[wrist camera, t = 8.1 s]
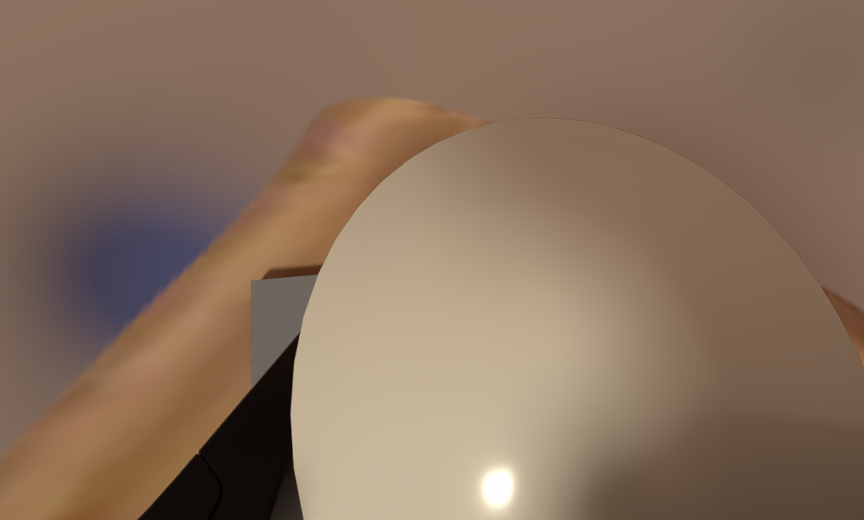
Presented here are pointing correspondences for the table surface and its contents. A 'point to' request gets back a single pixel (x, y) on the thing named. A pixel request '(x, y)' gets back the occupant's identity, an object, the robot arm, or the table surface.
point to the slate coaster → (276, 317)
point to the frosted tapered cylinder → (570, 345)
